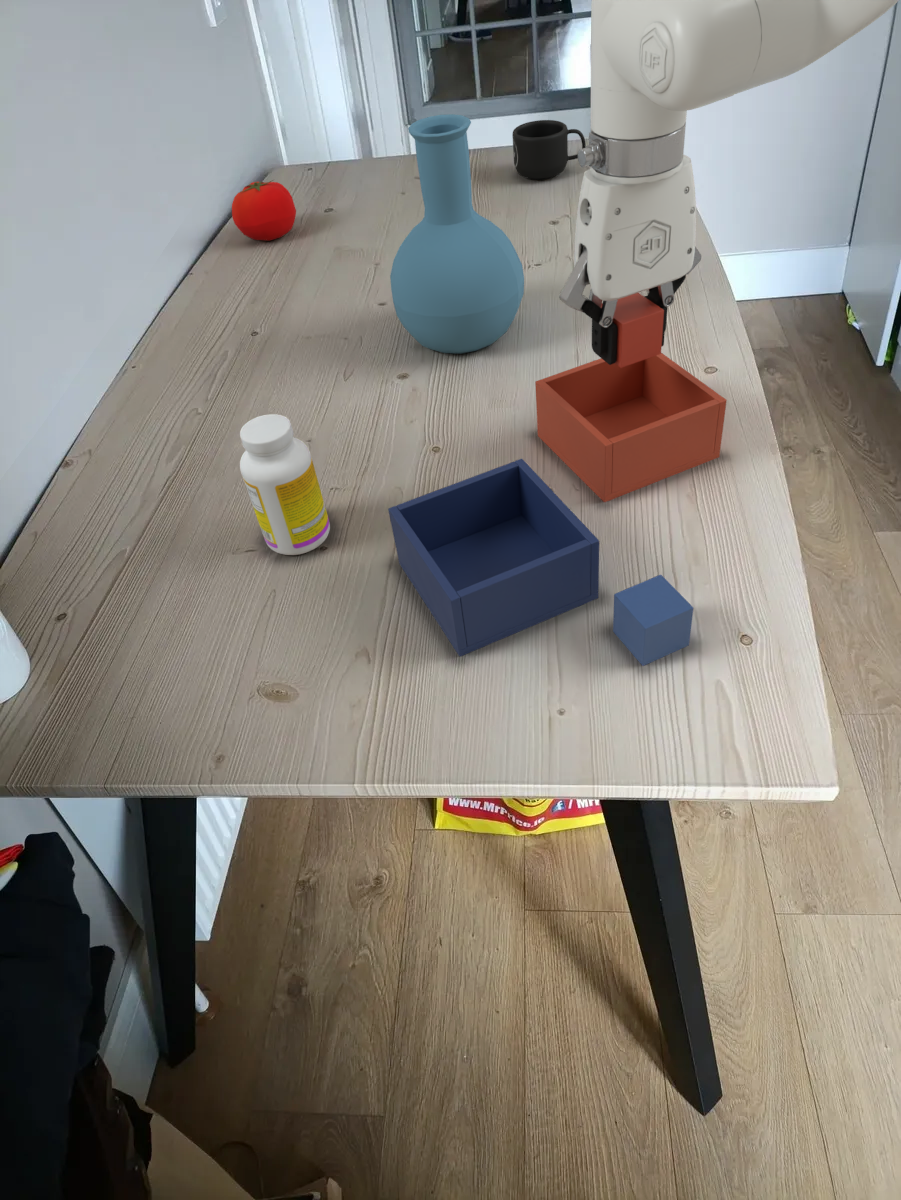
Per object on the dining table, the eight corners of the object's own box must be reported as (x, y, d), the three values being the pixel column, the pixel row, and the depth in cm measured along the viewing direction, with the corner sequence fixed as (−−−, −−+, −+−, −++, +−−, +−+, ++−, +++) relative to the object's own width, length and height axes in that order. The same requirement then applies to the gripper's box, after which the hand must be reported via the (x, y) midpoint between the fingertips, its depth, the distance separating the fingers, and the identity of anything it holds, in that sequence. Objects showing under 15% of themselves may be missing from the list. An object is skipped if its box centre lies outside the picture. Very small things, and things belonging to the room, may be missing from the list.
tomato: (312, 231, 142) (300, 178, 136) (259, 255, 138) (245, 200, 132) (280, 219, 148) (267, 166, 142) (228, 241, 143) (213, 188, 137)
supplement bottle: (340, 517, 89) (312, 409, 80) (318, 561, 85) (286, 452, 76) (280, 512, 91) (246, 405, 82) (255, 555, 87) (216, 447, 78)
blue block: (657, 611, 75) (660, 574, 72) (689, 645, 72) (693, 607, 69) (612, 631, 74) (613, 593, 71) (642, 666, 71) (645, 628, 68)
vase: (375, 357, 111) (335, 148, 94) (434, 297, 121) (408, 97, 104) (494, 376, 105) (476, 155, 87) (545, 311, 115) (538, 101, 97)
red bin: (643, 396, 99) (646, 341, 94) (719, 457, 89) (726, 399, 85) (537, 436, 96) (534, 381, 91) (604, 502, 86) (605, 445, 82)
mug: (515, 186, 146) (513, 141, 141) (513, 167, 153) (511, 122, 148) (588, 179, 145) (588, 132, 140) (583, 159, 152) (583, 114, 147)
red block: (634, 334, 87) (636, 291, 84) (661, 353, 84) (664, 309, 81) (595, 348, 86) (596, 305, 83) (620, 368, 83) (622, 324, 80)
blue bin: (525, 514, 86) (521, 458, 82) (598, 598, 77) (599, 540, 72) (399, 563, 83) (387, 508, 79) (459, 657, 74) (451, 601, 69)
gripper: (569, 189, 67) (571, 395, 80) (751, 135, 71) (725, 339, 84) (523, 161, 72) (532, 359, 85) (695, 112, 76) (679, 309, 89)
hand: (628, 347), depth 85 cm, fingers closed on red block, 4 cm apart
